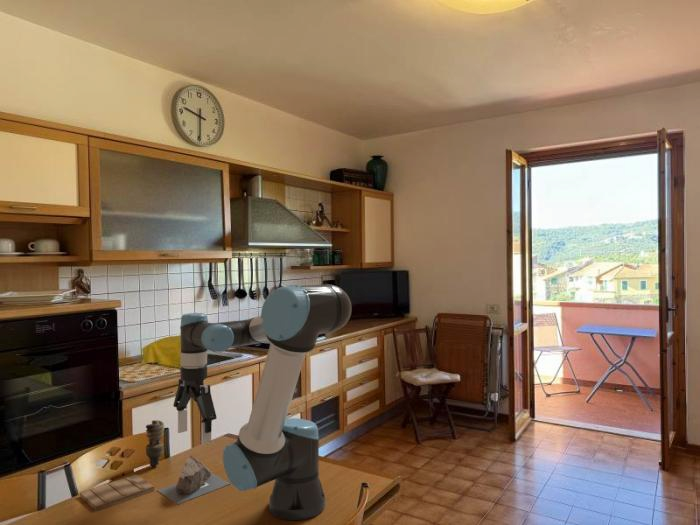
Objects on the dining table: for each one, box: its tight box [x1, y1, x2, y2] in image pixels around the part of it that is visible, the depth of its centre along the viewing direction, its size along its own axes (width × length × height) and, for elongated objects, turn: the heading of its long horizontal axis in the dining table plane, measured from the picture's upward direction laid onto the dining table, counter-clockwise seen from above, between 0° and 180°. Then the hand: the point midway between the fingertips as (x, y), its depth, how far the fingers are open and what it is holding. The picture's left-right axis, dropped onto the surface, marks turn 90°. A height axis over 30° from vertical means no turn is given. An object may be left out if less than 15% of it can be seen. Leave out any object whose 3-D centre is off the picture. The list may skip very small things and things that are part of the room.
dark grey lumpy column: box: [145, 419, 165, 468], centre depth 160 cm, size 6×6×15 cm
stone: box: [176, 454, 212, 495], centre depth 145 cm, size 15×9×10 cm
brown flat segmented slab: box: [79, 474, 155, 512], centre depth 142 cm, size 12×16×1 cm
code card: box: [157, 472, 232, 505], centre depth 145 cm, size 12×17×1 cm
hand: (194, 437), depth 145 cm, fingers open, 13 cm apart
